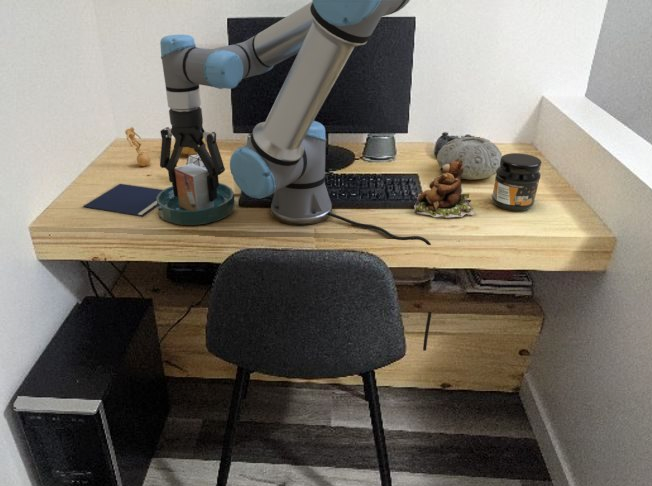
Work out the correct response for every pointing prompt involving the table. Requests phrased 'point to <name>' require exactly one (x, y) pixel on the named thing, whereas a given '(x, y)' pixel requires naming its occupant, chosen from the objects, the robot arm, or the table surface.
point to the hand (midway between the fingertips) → (195, 196)
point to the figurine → (142, 158)
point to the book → (127, 200)
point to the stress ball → (190, 149)
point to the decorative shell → (471, 156)
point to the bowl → (179, 215)
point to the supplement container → (516, 181)
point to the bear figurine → (445, 194)
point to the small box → (192, 187)
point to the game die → (195, 160)
